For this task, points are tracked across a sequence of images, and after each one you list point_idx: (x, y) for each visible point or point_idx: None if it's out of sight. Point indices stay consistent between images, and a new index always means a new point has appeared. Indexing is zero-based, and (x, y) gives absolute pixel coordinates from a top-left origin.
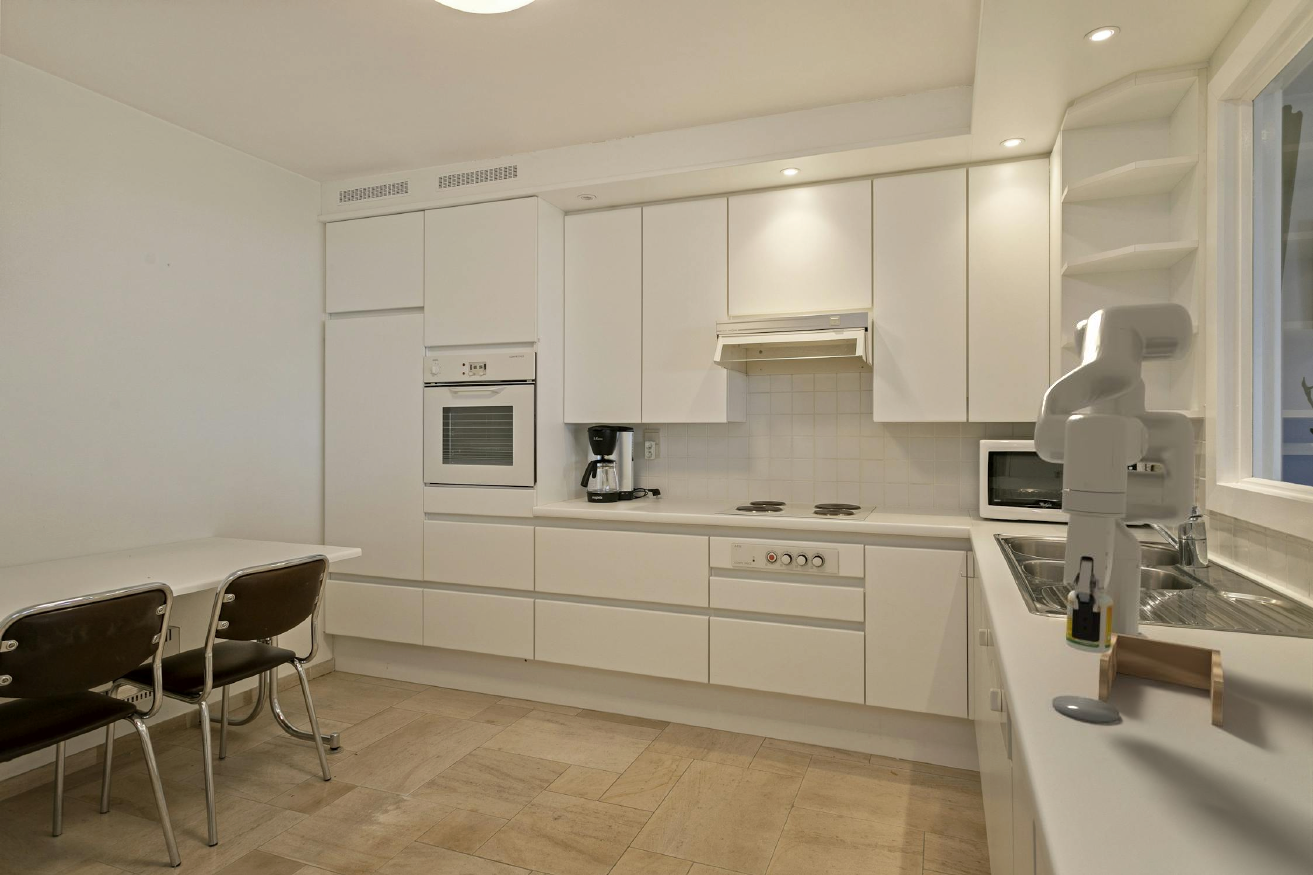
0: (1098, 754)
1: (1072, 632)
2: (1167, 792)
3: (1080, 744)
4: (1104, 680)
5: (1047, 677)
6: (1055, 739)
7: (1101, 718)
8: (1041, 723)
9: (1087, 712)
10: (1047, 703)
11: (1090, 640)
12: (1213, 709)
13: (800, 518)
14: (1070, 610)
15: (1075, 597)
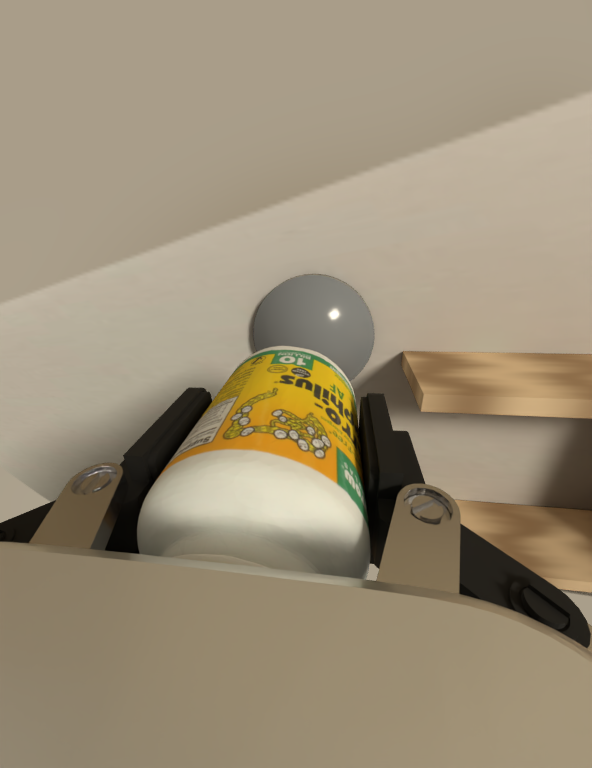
0: (132, 369)
1: (184, 395)
2: (95, 437)
3: (145, 345)
4: (409, 379)
5: (528, 223)
6: (130, 309)
7: None
8: (181, 275)
9: (280, 345)
10: (306, 263)
11: None
12: None
13: None
14: (197, 427)
15: (50, 519)
